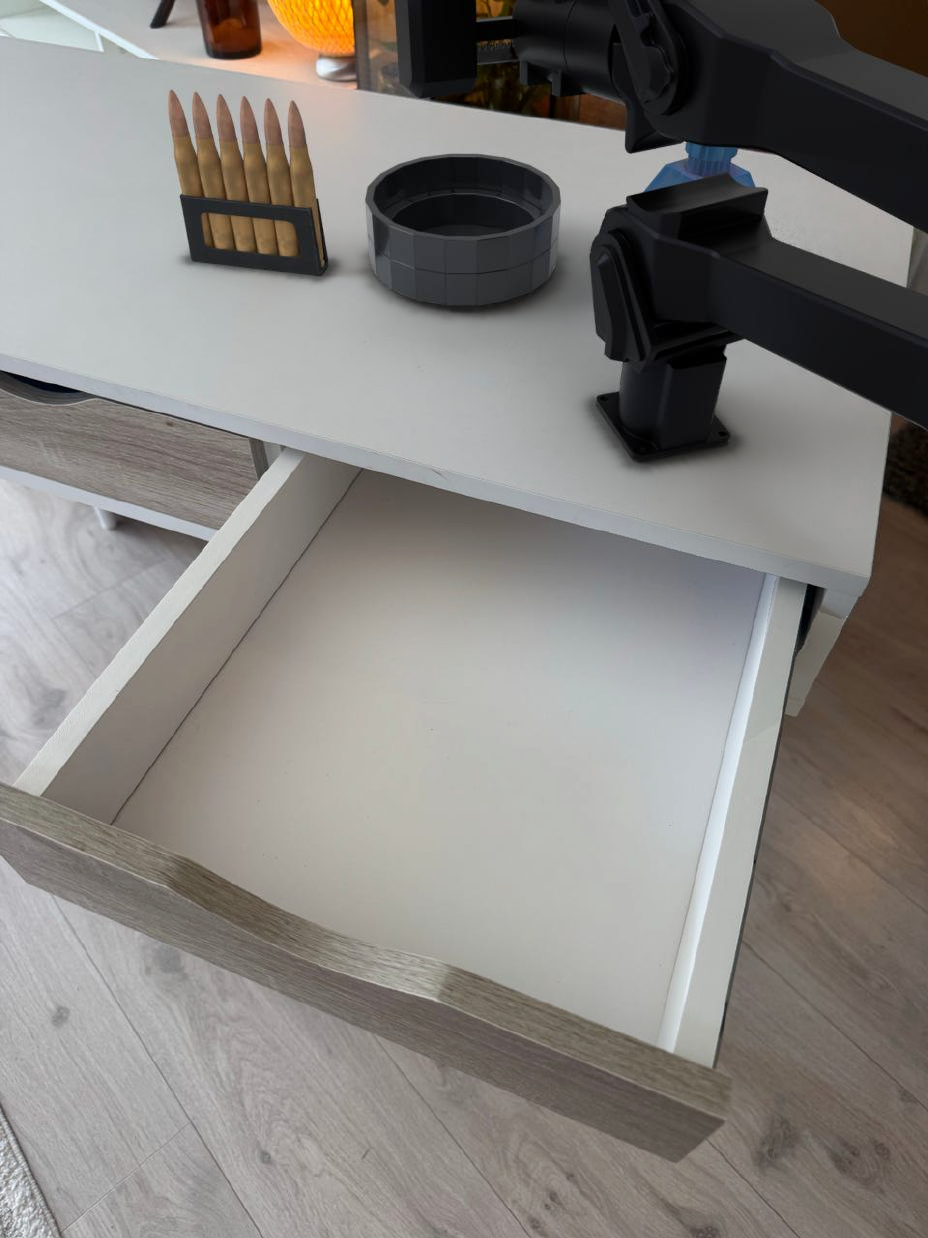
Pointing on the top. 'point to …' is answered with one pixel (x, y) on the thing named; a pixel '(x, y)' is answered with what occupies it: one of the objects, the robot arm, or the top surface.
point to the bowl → (463, 228)
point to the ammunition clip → (248, 190)
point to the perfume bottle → (701, 167)
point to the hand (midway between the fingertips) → (488, 8)
